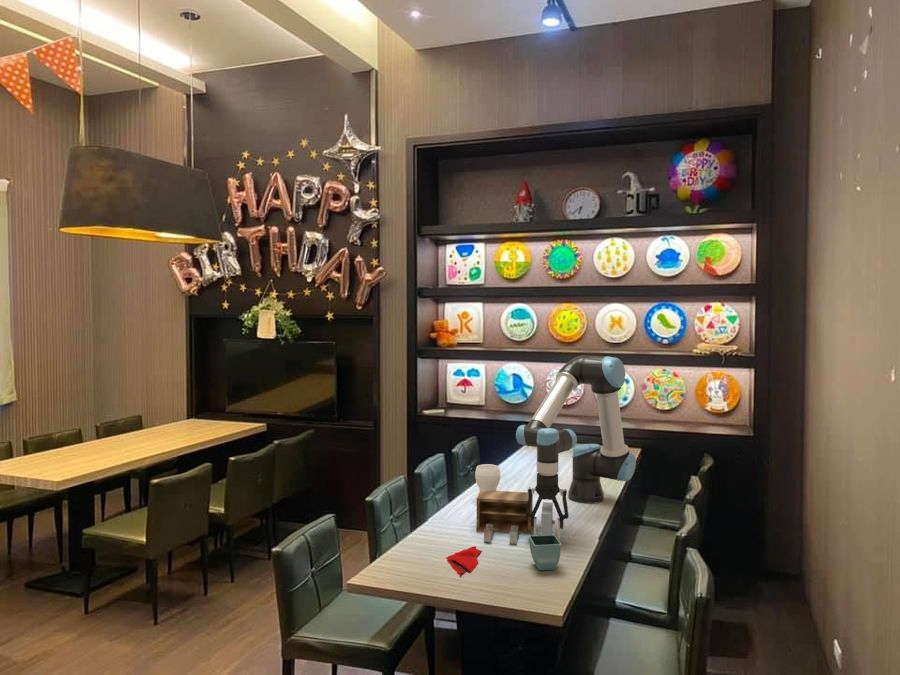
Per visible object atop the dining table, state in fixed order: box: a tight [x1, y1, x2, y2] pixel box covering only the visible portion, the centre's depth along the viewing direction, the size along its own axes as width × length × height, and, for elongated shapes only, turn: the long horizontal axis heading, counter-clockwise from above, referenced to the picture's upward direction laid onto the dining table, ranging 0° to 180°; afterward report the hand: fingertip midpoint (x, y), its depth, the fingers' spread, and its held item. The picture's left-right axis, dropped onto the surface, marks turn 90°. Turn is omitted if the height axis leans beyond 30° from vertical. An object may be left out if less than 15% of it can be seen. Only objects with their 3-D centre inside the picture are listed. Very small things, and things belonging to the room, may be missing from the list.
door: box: [540, 501, 556, 535], centre depth 232 cm, size 13×4×12 cm, turn 170°
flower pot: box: [528, 534, 562, 571], centre depth 210 cm, size 9×9×9 cm
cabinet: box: [476, 490, 534, 534], centre depth 247 cm, size 20×11×12 cm, turn 80°
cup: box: [474, 463, 501, 492], centre depth 277 cm, size 11×11×15 cm
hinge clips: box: [483, 524, 520, 546], centre depth 236 cm, size 11×12×4 cm
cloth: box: [445, 545, 482, 578], centre depth 215 cm, size 26×14×2 cm, turn 156°
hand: (546, 536), depth 232 cm, fingers open, 8 cm apart
